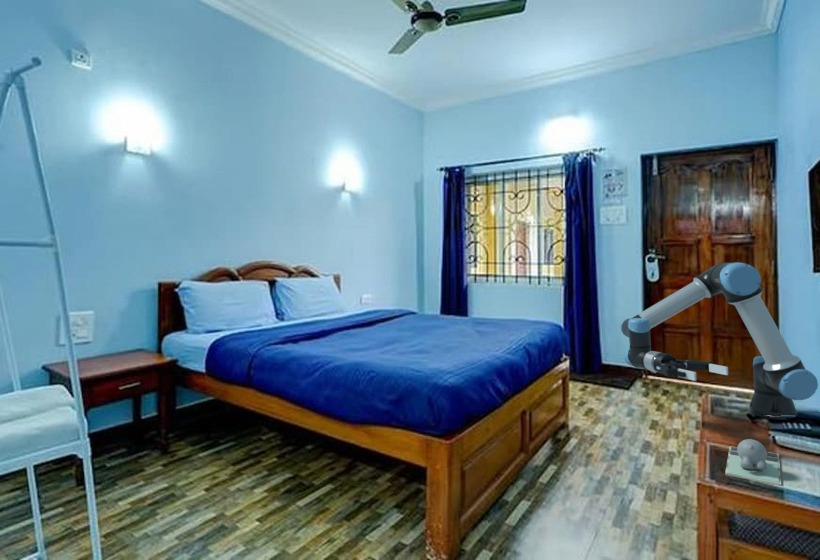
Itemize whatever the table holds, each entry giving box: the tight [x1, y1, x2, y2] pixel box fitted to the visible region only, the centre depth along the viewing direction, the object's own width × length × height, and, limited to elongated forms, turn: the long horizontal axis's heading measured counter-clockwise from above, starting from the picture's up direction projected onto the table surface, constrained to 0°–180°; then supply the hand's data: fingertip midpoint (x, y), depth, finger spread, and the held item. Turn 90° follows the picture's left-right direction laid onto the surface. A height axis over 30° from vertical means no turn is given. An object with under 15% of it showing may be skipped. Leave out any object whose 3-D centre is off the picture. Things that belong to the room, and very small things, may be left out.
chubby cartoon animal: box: [736, 438, 768, 470], centre depth 143 cm, size 7×12×8 cm, turn 152°
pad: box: [727, 455, 779, 483], centre depth 142 cm, size 15×12×1 cm
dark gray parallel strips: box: [730, 446, 778, 462], centre depth 152 cm, size 6×12×1 cm, turn 53°
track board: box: [724, 445, 782, 487], centre depth 145 cm, size 24×13×1 cm, turn 143°
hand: (711, 373), depth 157 cm, fingers open, 13 cm apart
